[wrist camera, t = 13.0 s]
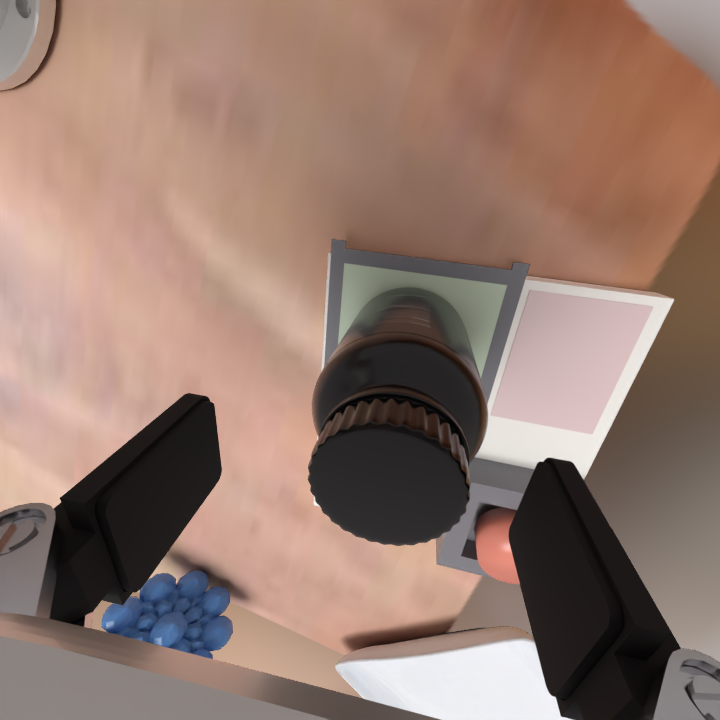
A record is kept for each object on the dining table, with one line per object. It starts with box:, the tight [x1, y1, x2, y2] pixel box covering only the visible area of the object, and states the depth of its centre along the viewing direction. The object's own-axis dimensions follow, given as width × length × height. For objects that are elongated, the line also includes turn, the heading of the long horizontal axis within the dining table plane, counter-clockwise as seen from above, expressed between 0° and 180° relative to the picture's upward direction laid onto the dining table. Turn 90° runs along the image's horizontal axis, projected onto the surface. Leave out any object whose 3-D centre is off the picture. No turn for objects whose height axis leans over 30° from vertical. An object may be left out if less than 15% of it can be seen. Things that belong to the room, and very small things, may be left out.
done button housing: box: [436, 457, 601, 585], centre depth 23 cm, size 8×8×2 cm
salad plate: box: [335, 627, 573, 720], centre depth 35 cm, size 21×21×3 cm
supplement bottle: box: [308, 287, 488, 546], centre depth 15 cm, size 7×7×12 cm
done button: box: [474, 507, 520, 584], centre depth 22 cm, size 4×4×2 cm
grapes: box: [102, 570, 233, 659], centre depth 33 cm, size 12×7×12 cm, turn 58°
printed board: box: [314, 239, 674, 506], centre depth 23 cm, size 21×18×2 cm
